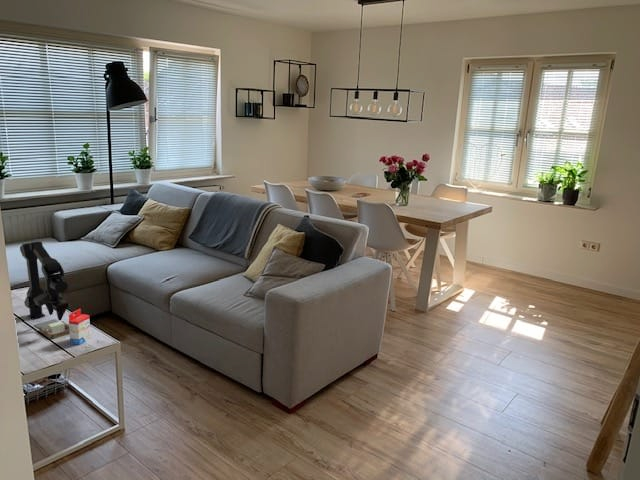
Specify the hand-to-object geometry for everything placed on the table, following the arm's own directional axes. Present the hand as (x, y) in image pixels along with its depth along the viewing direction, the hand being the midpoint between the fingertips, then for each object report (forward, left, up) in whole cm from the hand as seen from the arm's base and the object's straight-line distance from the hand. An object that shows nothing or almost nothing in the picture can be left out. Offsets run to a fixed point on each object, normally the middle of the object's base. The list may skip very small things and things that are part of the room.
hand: (55, 317), depth 240 cm
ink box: (+18, +3, -7) cm, 20 cm away
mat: (-10, 0, -7) cm, 12 cm away
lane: (+1, 0, -7) cm, 7 cm away
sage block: (0, 0, -7) cm, 7 cm away
